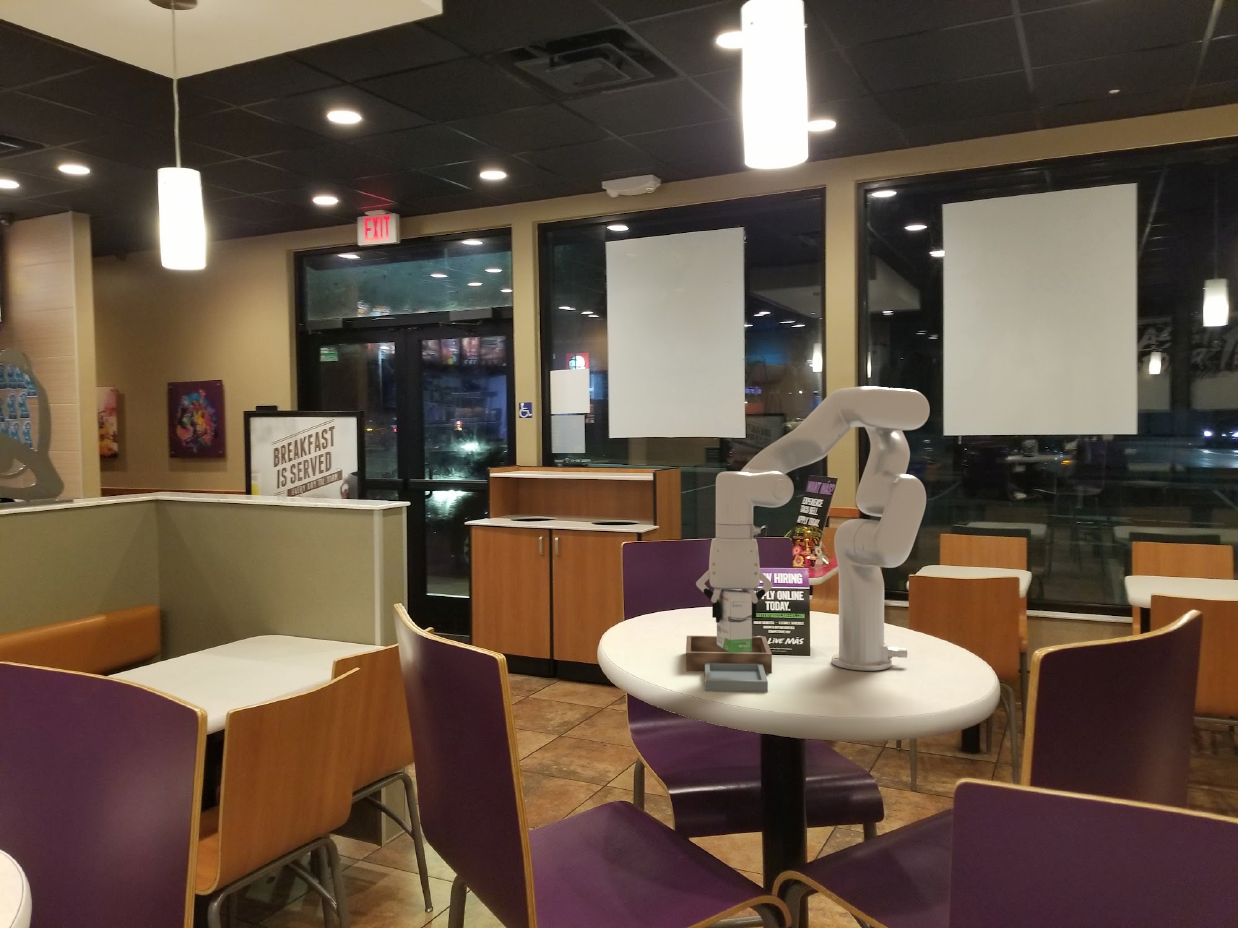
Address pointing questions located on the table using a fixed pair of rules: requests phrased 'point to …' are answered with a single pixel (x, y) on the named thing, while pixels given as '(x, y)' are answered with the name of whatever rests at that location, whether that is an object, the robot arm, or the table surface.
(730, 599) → the ink box
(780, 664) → the table surface
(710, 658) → the crate
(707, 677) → the tray
